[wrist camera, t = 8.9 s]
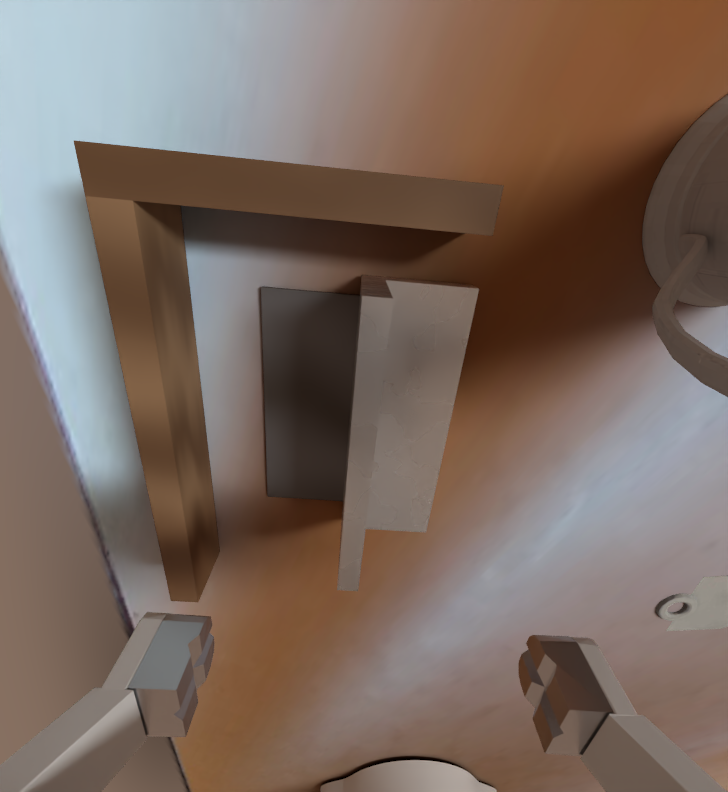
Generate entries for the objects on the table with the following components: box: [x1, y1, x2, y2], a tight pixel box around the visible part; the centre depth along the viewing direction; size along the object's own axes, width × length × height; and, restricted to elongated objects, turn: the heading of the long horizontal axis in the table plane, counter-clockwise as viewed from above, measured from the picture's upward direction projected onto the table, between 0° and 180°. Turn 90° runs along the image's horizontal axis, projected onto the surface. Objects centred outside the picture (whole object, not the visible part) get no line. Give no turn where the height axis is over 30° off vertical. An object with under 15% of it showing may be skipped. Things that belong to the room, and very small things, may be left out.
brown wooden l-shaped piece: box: [74, 141, 504, 602], centre depth 18 cm, size 22×14×4 cm, turn 175°
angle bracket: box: [337, 275, 479, 591], centre depth 17 cm, size 14×5×5 cm, turn 175°
